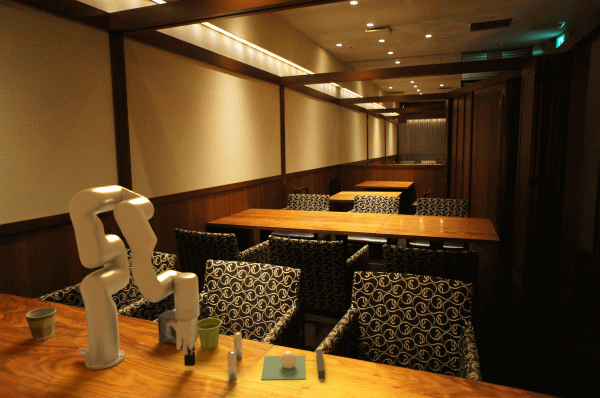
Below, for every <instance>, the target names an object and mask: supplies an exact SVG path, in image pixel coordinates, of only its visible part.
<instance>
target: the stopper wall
mask: <svg viewBox="0 0 600 398" xmlns="http://www.w3.org/2000/svg"><path fill="white" fill-rule="evenodd" d="M315 353H316V354H315V355H316V358H315V359H316V365H317V376H318V379H325V378H326V375H325V373H326V369H325V361H324V353H323V350H322V349H316V352H315Z"/></svg>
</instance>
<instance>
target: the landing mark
mask: <svg viewBox="0 0 600 398" xmlns="http://www.w3.org/2000/svg"><path fill="white" fill-rule="evenodd" d="M280 356H281V355H265V356H264V358H263V363H262V370H261V371H262V372H261V376H260V377H261V379H260V381H271V380H272V381H274V380H275V381H276V380H281V381H282V380H283V379H288V380H307V373H306V355H296V357H297V362H296V364H295V366H294V367H293V368H291V369H286V368H284V367H283V366H282V365H281V363H280ZM283 381H284V380H283Z"/></svg>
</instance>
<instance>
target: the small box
mask: <svg viewBox="0 0 600 398" xmlns="http://www.w3.org/2000/svg"><path fill="white" fill-rule="evenodd" d="M157 327H158V328H157V329H158V331H157V332H158V342H159V343H162V344H167V345H172V346H176V347H177V342H176V332H177V319H176V315H175V311H174V310H170V309H168V310H166V311H164V312H162V313H161V314H159V315H158V316H157ZM182 347H183V345H182Z"/></svg>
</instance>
